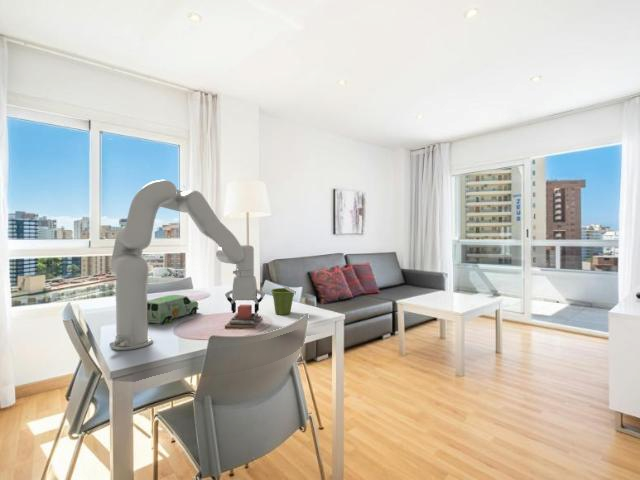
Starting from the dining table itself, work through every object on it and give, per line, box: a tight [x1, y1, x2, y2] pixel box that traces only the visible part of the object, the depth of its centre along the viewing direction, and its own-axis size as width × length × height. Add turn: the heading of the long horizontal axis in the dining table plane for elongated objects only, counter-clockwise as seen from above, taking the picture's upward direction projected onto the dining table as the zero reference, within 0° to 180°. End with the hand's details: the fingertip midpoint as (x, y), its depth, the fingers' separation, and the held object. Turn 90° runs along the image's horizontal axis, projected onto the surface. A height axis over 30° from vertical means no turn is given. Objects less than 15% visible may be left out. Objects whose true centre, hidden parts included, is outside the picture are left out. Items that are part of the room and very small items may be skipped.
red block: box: [237, 304, 253, 318], centre depth 145 cm, size 5×5×6 cm
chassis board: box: [224, 312, 262, 330], centre depth 143 cm, size 16×12×3 cm
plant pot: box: [270, 287, 295, 316], centre depth 160 cm, size 12×12×11 cm
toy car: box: [147, 294, 199, 325], centre depth 150 cm, size 11×25×10 cm, turn 161°
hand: (245, 312), depth 145 cm, fingers open, 9 cm apart
